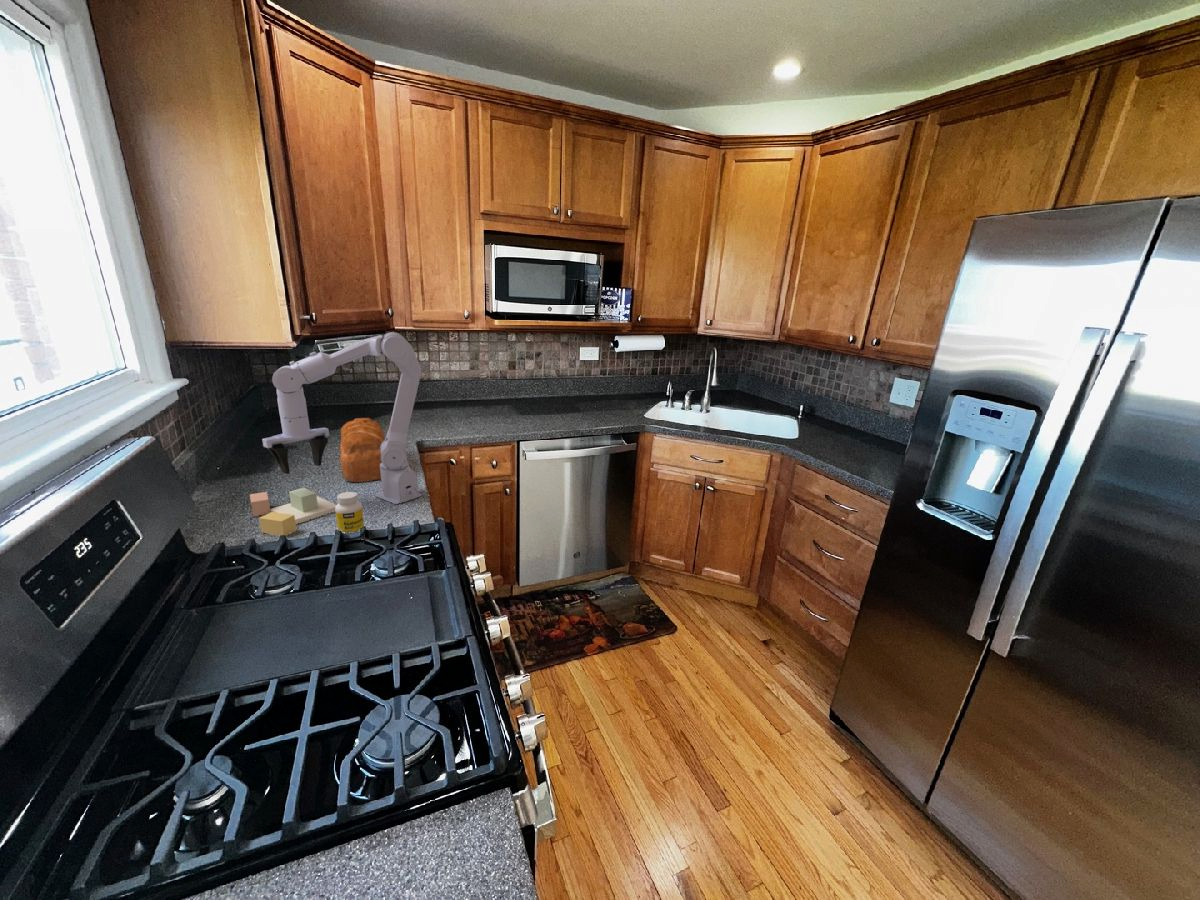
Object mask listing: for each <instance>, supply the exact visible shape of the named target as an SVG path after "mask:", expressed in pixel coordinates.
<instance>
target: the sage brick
mask: <svg viewBox="0 0 1200 900" xmlns="http://www.w3.org/2000/svg"><path fill="white" fill-rule="evenodd" d="M288 493H289V500H290V501H289V502H290V503H291V507H293V508H295V509H297V510H299V511H301V512H303V513H304V512H307V511H310V510H313V509H316V508H318V503H317V496H318V495H317V493H316V492H315V491H312V490H310V489H308V488H305V487H301V488H298V489H295V490H290V491H288Z"/></svg>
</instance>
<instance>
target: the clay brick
mask: <svg viewBox="0 0 1200 900" xmlns="http://www.w3.org/2000/svg"><path fill="white" fill-rule="evenodd" d="M249 499H250V504H251V509H252V515H253V517H254V516H257V515H262V516H264V514H269V513H271V510H270V509H271V507H270V502H269V501H270V500H269V496H268V492H267V491H263V492H256V493H251V494H249ZM257 517H258V516H257Z"/></svg>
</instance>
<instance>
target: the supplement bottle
mask: <svg viewBox="0 0 1200 900" xmlns="http://www.w3.org/2000/svg"><path fill="white" fill-rule="evenodd" d="M336 499H337V500H336V501H337V504H336V507H335V512H334V513H335V519H336V526H337V527H336V528H337V531H338V530H339V531H342V532H345V533H349V532H357V531H359V529H360V528H362V527H364V528H365V522H364V515H363V514H364V512H363V506H362V502H360V501H358V500H359V498H358V493H357V492H354V491H345V492H341V493H339V494H338V495H337V498H336Z"/></svg>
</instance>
